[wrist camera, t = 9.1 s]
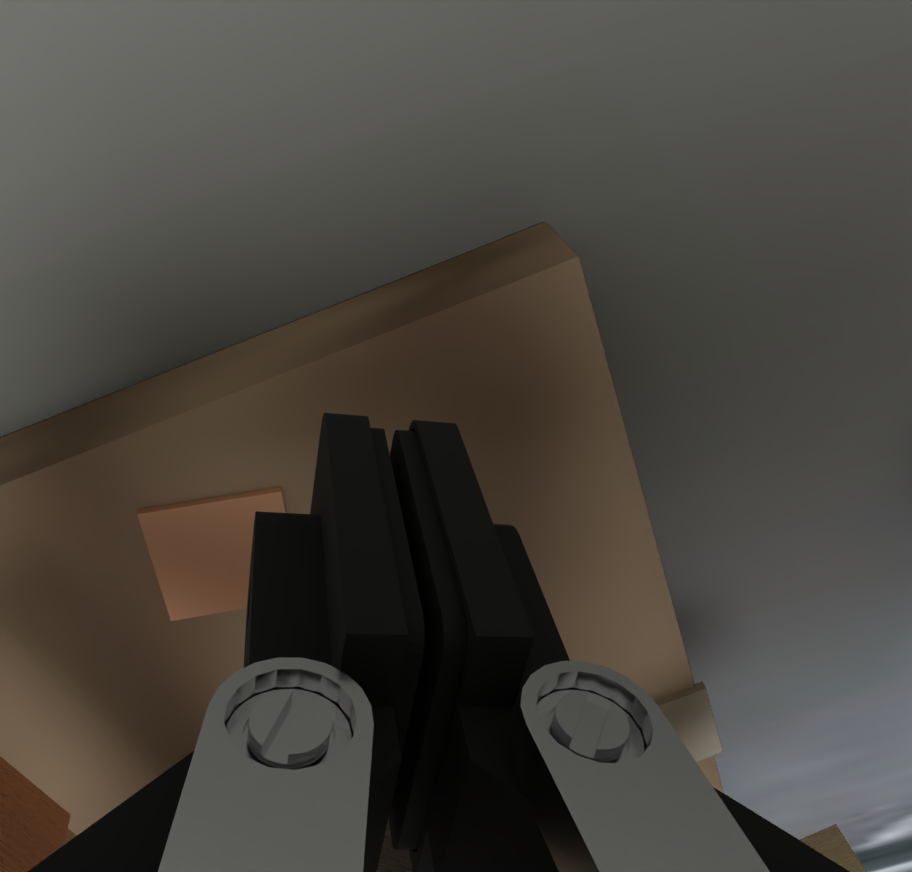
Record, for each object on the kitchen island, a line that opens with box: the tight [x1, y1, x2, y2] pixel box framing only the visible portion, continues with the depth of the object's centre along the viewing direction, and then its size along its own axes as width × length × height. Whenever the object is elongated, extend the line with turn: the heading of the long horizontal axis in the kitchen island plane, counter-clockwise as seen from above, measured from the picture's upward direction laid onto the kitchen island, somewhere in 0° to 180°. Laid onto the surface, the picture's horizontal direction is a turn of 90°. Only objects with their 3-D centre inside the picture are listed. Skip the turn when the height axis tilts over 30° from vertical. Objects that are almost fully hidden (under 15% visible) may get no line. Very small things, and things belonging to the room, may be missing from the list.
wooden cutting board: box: [0, 222, 724, 835], centre depth 21 cm, size 20×24×2 cm
